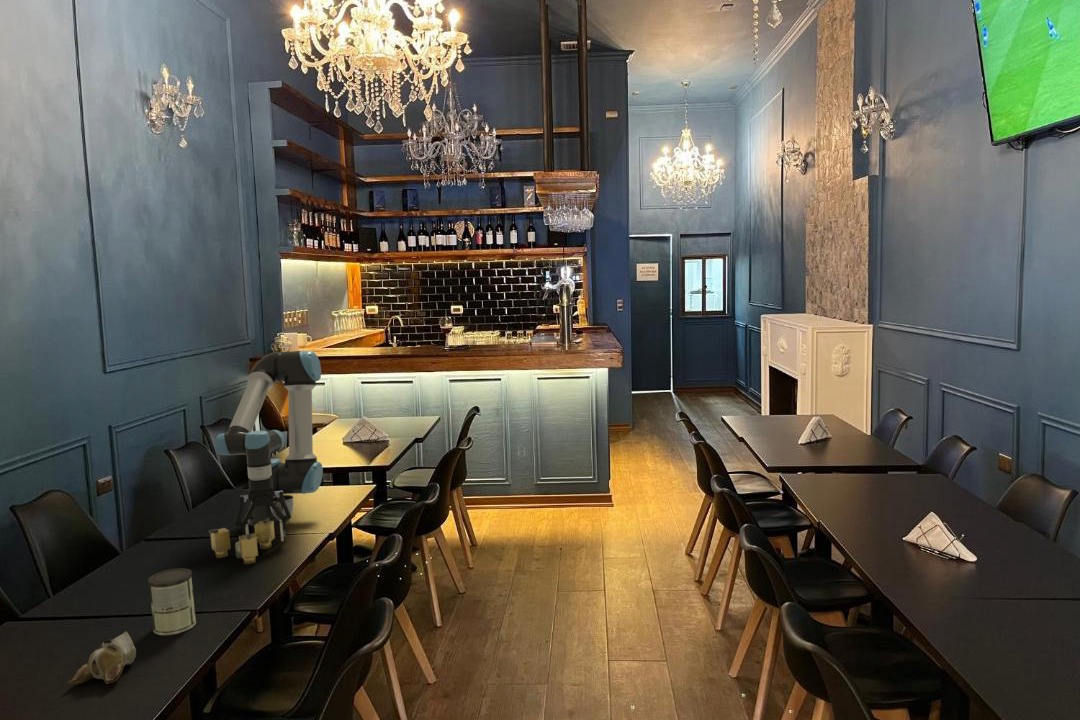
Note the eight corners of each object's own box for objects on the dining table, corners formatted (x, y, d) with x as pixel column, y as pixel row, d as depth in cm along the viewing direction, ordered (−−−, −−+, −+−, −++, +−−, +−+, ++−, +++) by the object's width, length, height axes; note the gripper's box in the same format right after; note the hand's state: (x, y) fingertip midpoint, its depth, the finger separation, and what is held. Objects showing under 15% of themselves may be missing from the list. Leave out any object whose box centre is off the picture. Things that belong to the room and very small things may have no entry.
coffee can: (146, 629, 203) (141, 577, 202) (184, 615, 211) (180, 565, 210) (164, 639, 197) (159, 586, 195) (203, 624, 205) (198, 573, 203)
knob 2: (241, 561, 247) (238, 533, 247) (256, 558, 250) (253, 530, 249) (243, 566, 243) (241, 538, 242) (259, 563, 245) (256, 535, 244)
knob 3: (269, 549, 258) (267, 522, 257) (256, 550, 258) (254, 523, 257) (276, 544, 263) (274, 517, 262) (263, 544, 264) (261, 517, 263)
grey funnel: (300, 535, 276) (296, 494, 274) (290, 543, 268) (287, 501, 267) (278, 536, 277) (275, 495, 275) (268, 543, 269) (265, 501, 267)
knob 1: (226, 552, 257) (224, 525, 256) (231, 556, 253) (228, 528, 252) (209, 556, 253) (207, 529, 253) (213, 560, 250) (211, 532, 249)
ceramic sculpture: (146, 625, 185) (106, 659, 170) (151, 658, 186) (111, 695, 171) (104, 625, 186) (60, 659, 171) (109, 658, 187) (66, 694, 173)
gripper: (222, 484, 251) (228, 550, 253) (296, 476, 258) (301, 540, 260) (224, 479, 258) (229, 543, 260) (295, 471, 265) (300, 534, 267)
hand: (265, 542), depth 260 cm, fingers open, 10 cm apart
